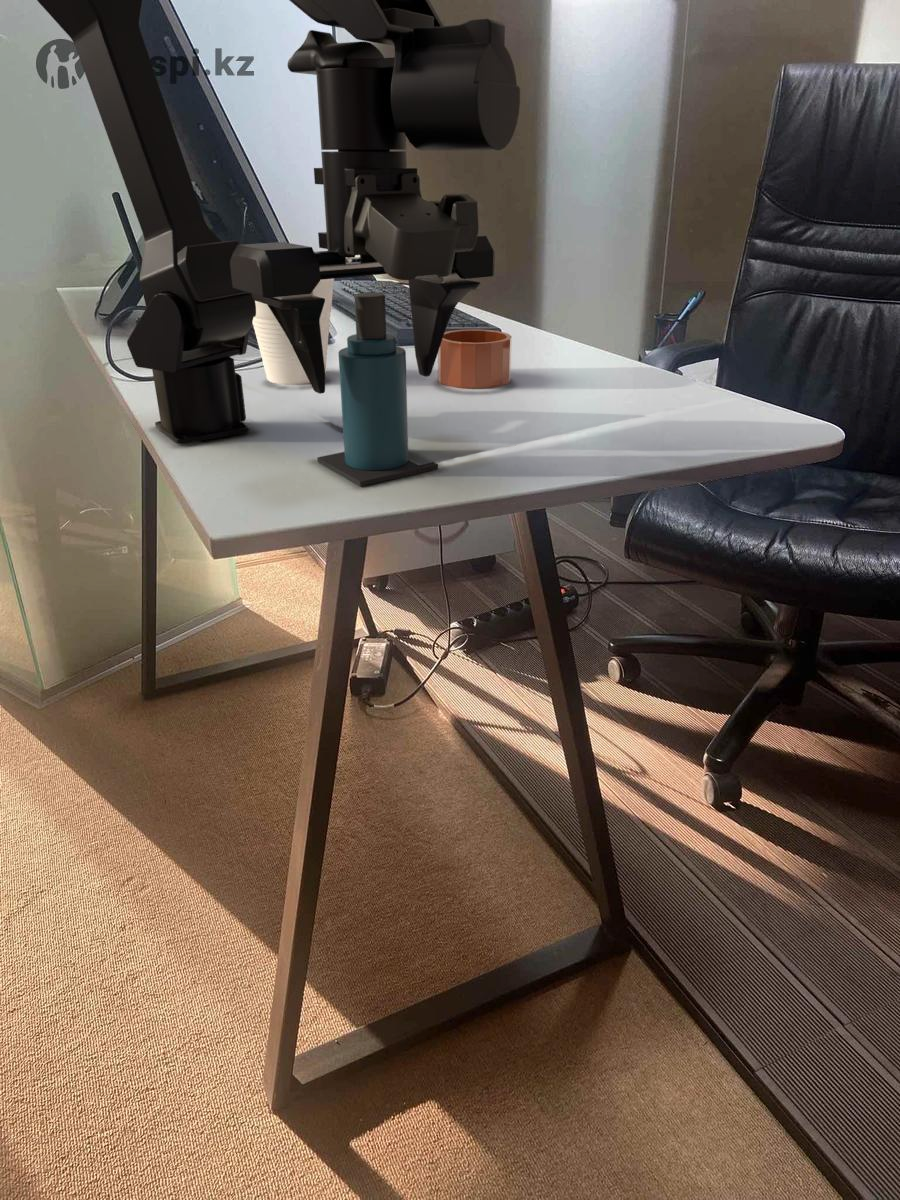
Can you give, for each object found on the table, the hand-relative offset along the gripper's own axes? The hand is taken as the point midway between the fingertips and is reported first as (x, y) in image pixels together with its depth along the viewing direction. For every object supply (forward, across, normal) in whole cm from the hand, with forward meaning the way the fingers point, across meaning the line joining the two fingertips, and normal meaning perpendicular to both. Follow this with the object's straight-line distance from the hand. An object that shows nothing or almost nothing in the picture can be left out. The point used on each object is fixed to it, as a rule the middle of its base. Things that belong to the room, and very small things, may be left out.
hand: (374, 383), depth 65 cm
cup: (+7, +7, +29) cm, 31 cm away
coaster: (+6, 0, 0) cm, 6 cm away
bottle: (+6, 0, 0) cm, 6 cm away
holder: (+6, +22, +17) cm, 29 cm away
